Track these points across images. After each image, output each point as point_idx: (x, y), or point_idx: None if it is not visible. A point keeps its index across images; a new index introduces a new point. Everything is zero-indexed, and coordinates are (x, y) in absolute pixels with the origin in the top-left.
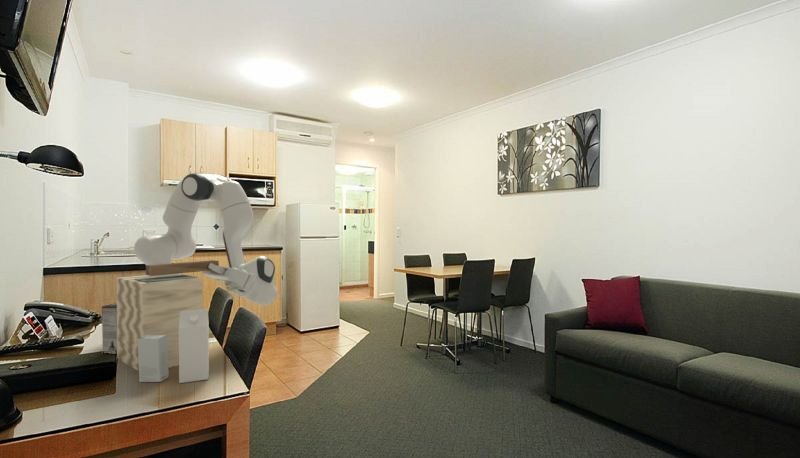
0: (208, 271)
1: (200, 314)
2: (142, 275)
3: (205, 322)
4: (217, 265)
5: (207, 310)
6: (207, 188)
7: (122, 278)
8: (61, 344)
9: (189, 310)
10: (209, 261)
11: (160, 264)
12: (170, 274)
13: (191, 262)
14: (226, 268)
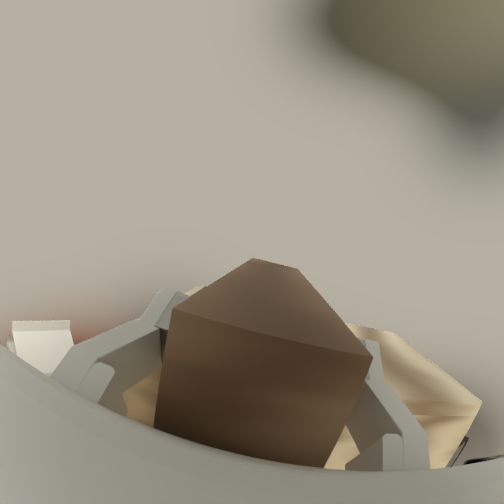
0: (346, 469)
1: (27, 331)
2: (422, 355)
3: (12, 338)
4: (167, 367)
5: (13, 324)
6: None
7: (366, 328)
8: (467, 463)
9: (50, 321)
10: (231, 294)
11: (285, 269)
12: (412, 382)
13: (273, 281)
14: (14, 357)
